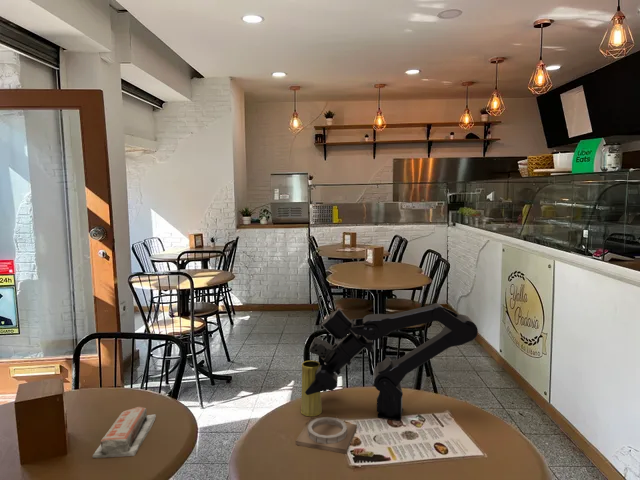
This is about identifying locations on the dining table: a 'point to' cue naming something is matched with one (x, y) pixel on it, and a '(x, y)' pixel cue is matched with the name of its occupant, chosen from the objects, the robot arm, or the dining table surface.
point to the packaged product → (126, 434)
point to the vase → (308, 402)
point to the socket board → (327, 434)
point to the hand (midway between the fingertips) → (307, 386)
